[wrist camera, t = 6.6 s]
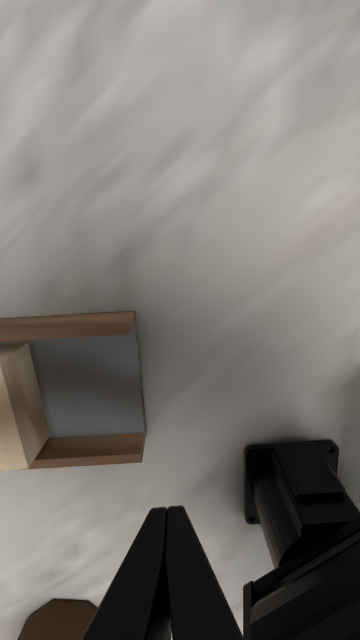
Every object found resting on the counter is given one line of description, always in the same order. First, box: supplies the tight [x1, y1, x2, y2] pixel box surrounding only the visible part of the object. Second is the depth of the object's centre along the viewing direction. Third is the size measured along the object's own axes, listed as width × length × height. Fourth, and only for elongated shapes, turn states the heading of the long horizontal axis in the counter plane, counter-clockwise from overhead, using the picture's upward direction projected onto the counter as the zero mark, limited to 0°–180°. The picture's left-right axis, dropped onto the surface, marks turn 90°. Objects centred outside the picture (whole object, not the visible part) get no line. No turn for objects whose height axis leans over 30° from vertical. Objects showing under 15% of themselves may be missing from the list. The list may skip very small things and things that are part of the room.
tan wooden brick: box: [0, 343, 50, 471], centre depth 17 cm, size 6×2×3 cm, turn 6°
